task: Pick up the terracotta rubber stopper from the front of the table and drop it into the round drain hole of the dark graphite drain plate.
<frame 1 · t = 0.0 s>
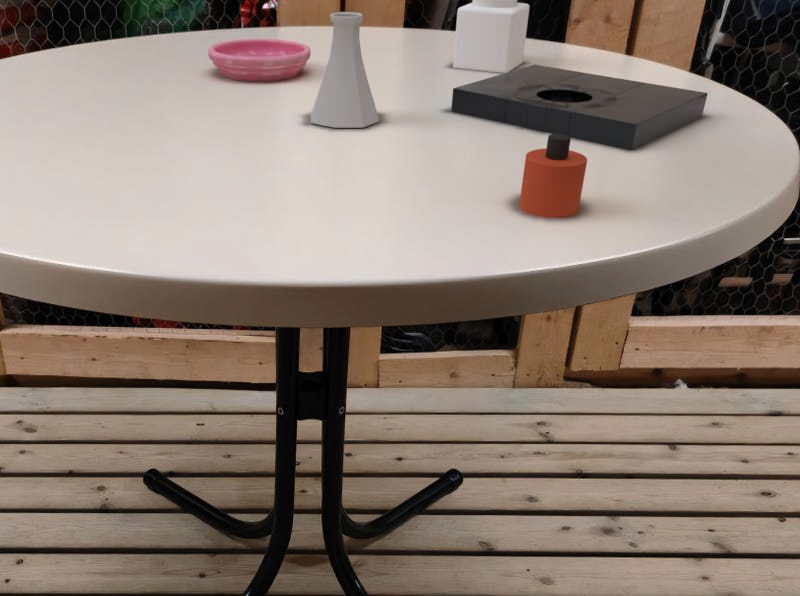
flask: (344, 123, 85), on the table
drain plate: (575, 115, 86), on the table
medicine bottle: (487, 68, 106), on the table
pink shallow round dish: (260, 75, 103), on the table
stopper: (548, 209, 63), on the table
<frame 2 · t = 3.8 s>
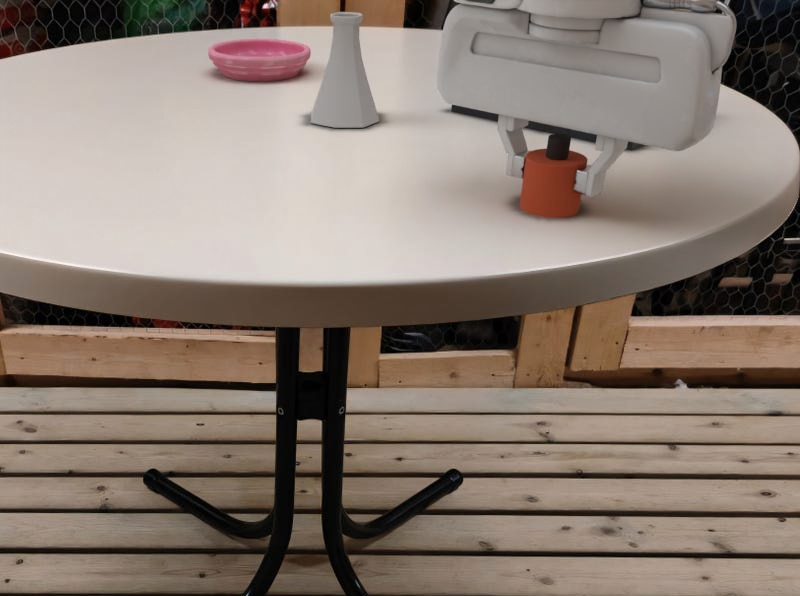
hand: (552, 184, 62), 2 cm above the table, tool pointing down, fingers closed on stopper, 4 cm apart
stopper: (548, 209, 63), on the table, touching gripper
everything else where it was.
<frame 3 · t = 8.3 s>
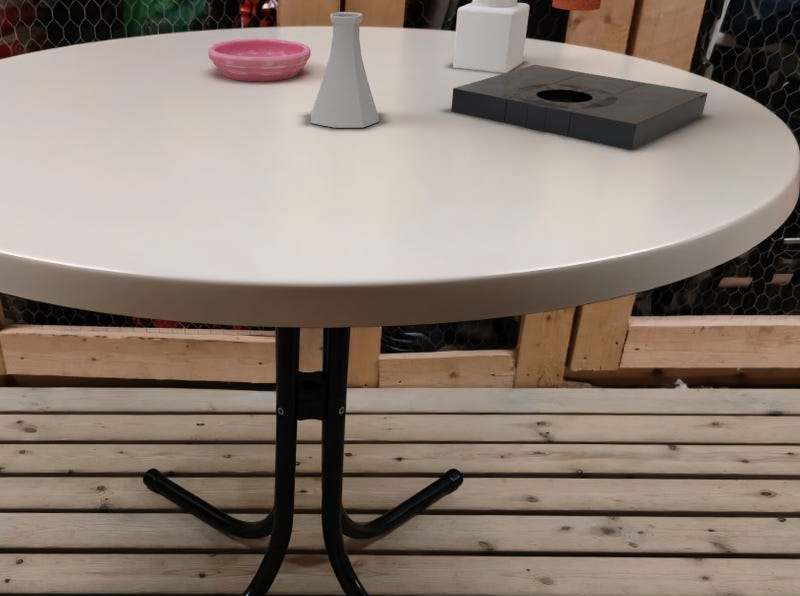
stopper: (575, 7, 79), point 11 cm above the table, touching gripper
everything else where it was.
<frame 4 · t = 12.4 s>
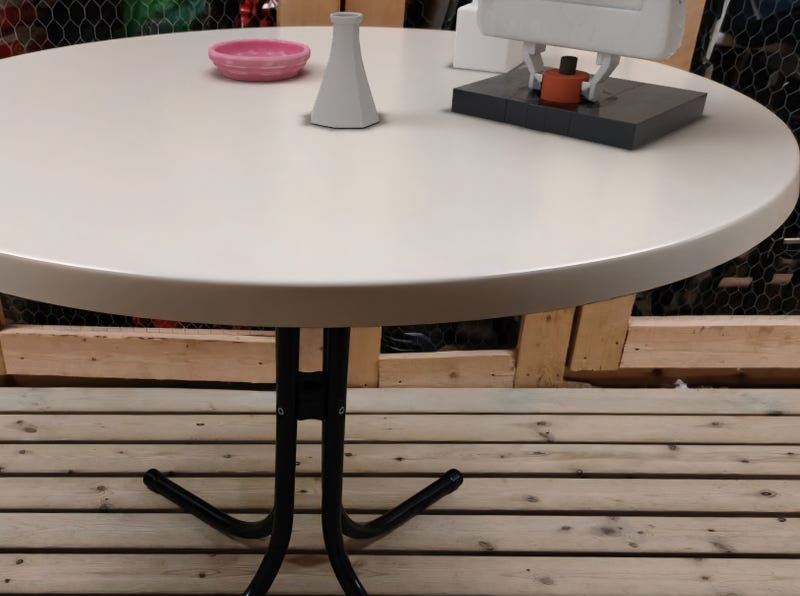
hand: (563, 95, 83), 3 cm above the table, tool pointing down, fingers closed on stopper, 4 cm apart
stopper: (560, 114, 84), point 1 cm above the table, touching gripper
everything else where it was.
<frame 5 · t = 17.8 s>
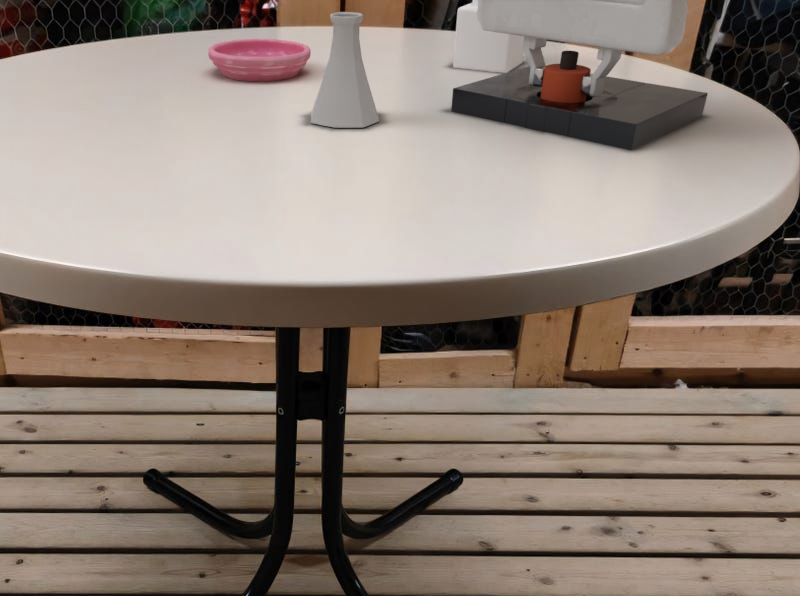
hand: (564, 90, 83), 3 cm above the table, tool pointing down, fingers closed on stopper, 4 cm apart
stopper: (561, 109, 84), point 1 cm above the table, touching gripper
everything else where it was.
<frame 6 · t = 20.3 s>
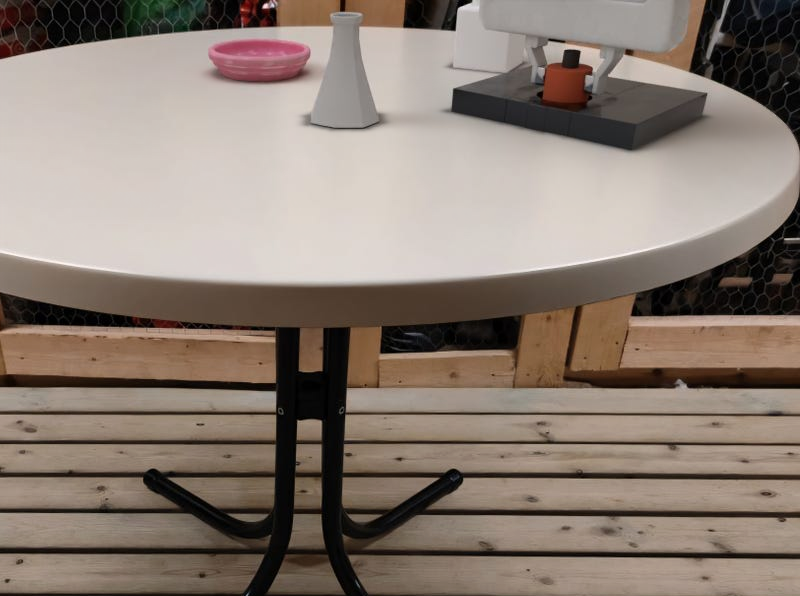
hand: (566, 88, 83), 3 cm above the table, tool pointing down, fingers closed on stopper, 4 cm apart
stopper: (563, 108, 84), point 1 cm above the table, touching gripper
everything else where it was.
when the fingers open (4 cm above the table, at t = 22.6 s): stopper drops 2 cm, resting in drain plate.
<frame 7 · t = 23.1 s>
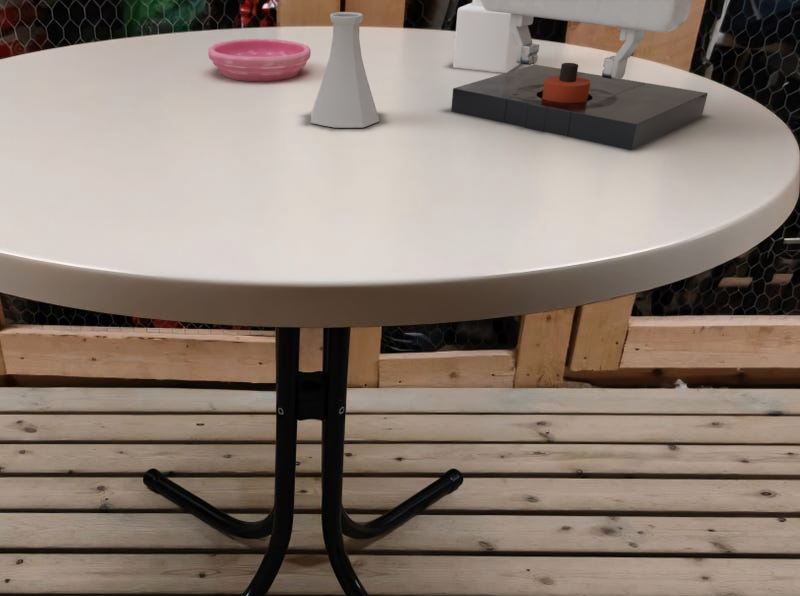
hand: (567, 70, 82), 5 cm above the table, tool pointing down, fingers open, 8 cm apart
stopper: (561, 121, 84), resting in drain plate
everything else where it was.
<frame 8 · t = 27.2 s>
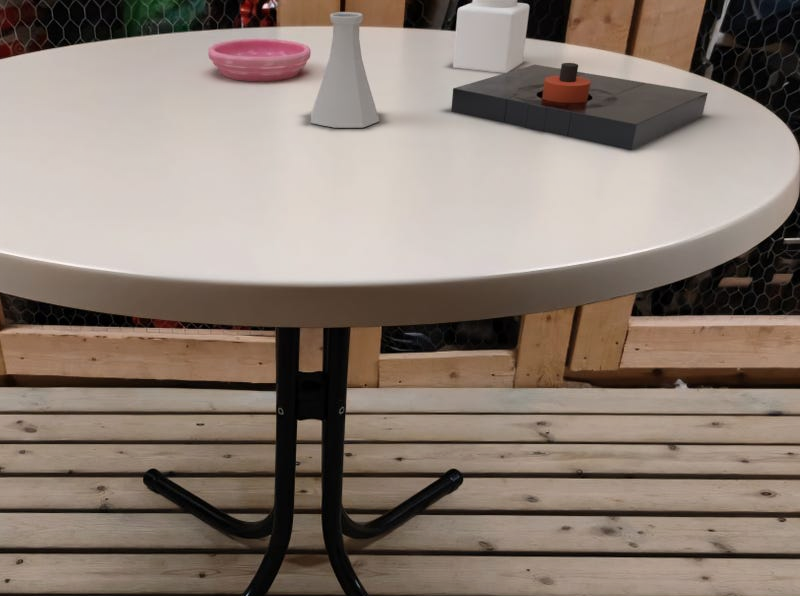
nothing on the table moved.
at the end: stopper 0.1 cm from the target spot in the drain plate, point 0.0 cm above the drain plate's base; stopper tilted 0°; the gripper is holding nothing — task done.
